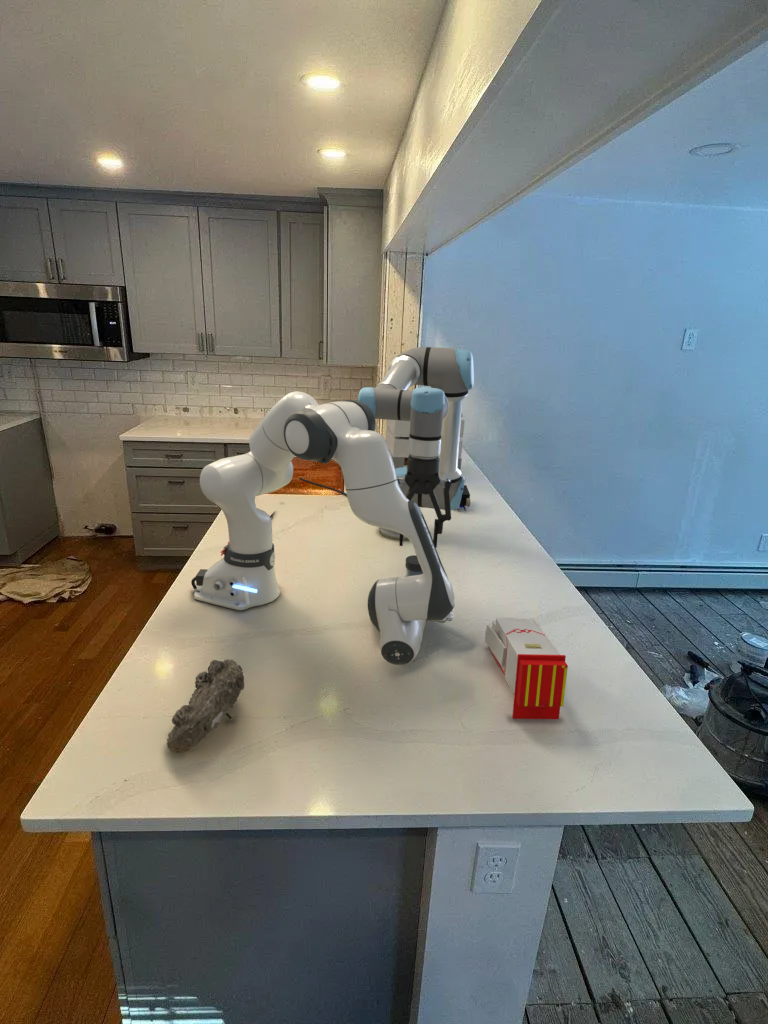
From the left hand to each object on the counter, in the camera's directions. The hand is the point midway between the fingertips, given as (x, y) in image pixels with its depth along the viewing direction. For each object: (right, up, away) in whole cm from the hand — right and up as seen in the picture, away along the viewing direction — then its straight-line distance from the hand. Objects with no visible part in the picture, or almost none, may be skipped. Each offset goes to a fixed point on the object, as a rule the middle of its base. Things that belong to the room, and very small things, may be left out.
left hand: (414, 589), depth 146 cm
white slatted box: (+9, +39, +129) cm, 135 cm away
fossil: (-41, -19, -38) cm, 59 cm away
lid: (0, +8, -4) cm, 9 cm away
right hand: (0, +12, -5) cm, 13 cm away
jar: (0, -7, +1) cm, 7 cm away
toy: (+21, -16, -22) cm, 35 cm away
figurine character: (+23, +22, +84) cm, 90 cm away
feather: (-49, +19, +66) cm, 84 cm away
